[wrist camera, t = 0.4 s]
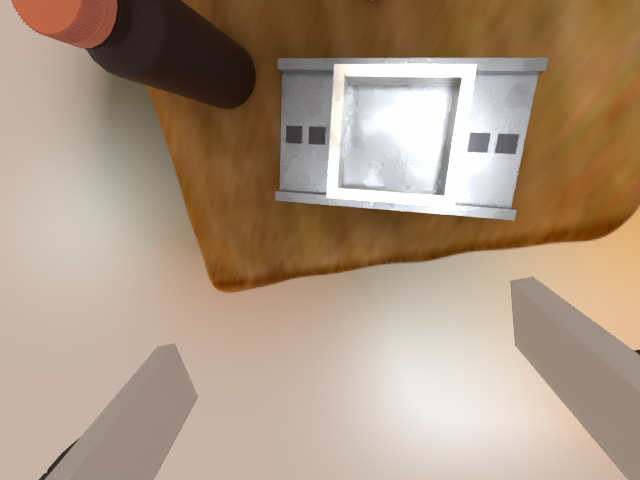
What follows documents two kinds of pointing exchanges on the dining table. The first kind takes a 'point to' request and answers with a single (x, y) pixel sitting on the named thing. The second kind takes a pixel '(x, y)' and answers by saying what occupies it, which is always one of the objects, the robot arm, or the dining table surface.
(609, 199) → the dining table surface
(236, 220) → the dining table surface
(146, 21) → the vinegar
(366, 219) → the dining table surface
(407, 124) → the grey base plate
